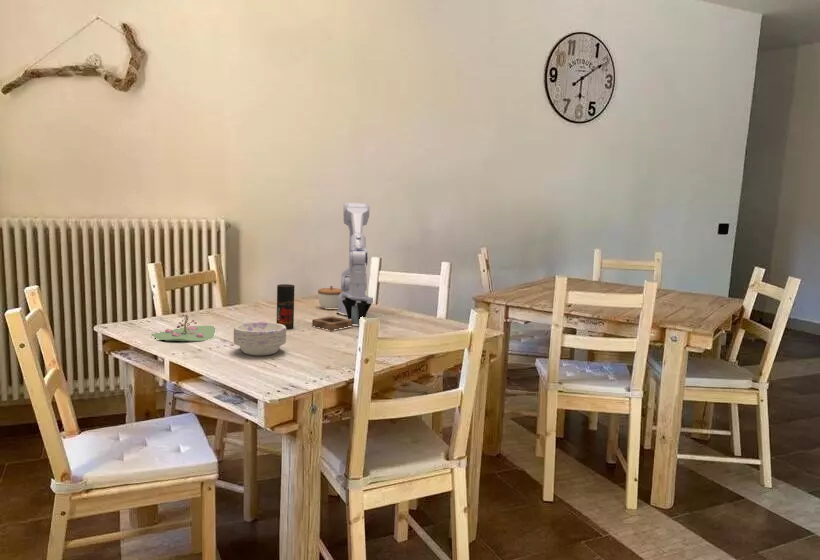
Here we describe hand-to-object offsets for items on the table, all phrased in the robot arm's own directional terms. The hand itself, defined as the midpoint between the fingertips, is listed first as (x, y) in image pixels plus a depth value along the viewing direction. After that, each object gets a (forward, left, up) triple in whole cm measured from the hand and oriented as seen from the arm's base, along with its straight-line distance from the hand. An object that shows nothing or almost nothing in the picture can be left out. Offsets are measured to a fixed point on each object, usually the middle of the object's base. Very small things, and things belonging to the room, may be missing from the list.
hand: (356, 320), depth 231 cm
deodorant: (-12, -23, -2) cm, 26 cm away
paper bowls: (+9, -49, -2) cm, 50 cm away
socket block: (-3, -9, -2) cm, 10 cm away
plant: (-24, -53, -3) cm, 58 cm away
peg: (0, 0, -2) cm, 2 cm away
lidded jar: (-29, +14, -2) cm, 32 cm away
